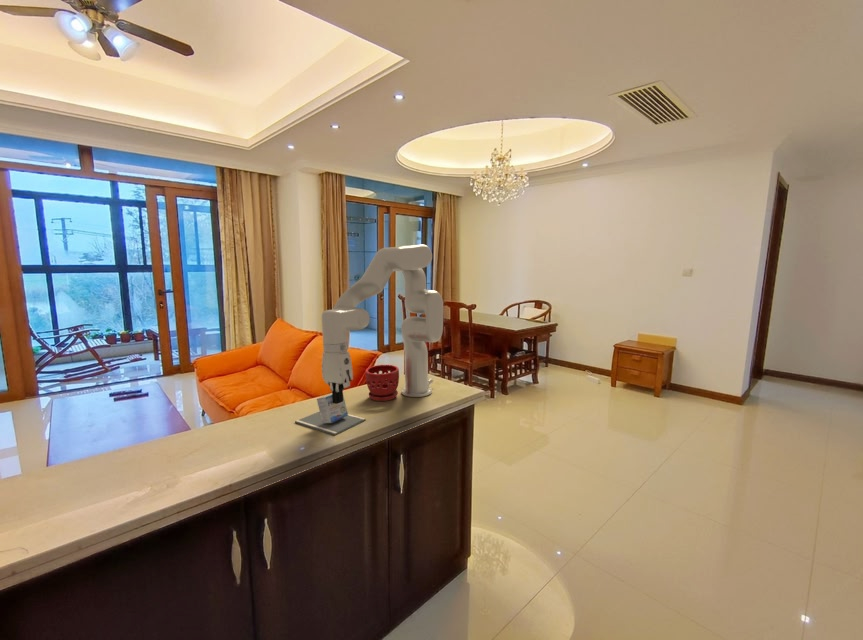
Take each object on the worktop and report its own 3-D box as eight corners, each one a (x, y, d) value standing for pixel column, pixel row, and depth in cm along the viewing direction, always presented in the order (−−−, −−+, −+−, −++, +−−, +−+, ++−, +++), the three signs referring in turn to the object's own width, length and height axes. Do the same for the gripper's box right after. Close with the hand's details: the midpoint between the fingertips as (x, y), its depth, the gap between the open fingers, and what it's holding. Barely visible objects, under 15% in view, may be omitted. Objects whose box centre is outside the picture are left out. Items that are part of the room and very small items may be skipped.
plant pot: (364, 394, 160) (363, 366, 158) (395, 391, 163) (395, 363, 162) (369, 405, 147) (367, 374, 146) (402, 401, 151) (402, 371, 149)
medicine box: (331, 423, 126) (325, 397, 126) (322, 424, 129) (316, 398, 129) (348, 415, 133) (342, 390, 133) (339, 416, 135) (334, 391, 135)
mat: (327, 409, 143) (327, 408, 143) (365, 420, 132) (365, 418, 132) (295, 422, 131) (295, 420, 131) (334, 435, 121) (334, 433, 121)
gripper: (360, 348, 125) (362, 402, 128) (328, 343, 133) (330, 395, 136) (343, 352, 119) (346, 410, 121) (310, 347, 127) (313, 401, 129)
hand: (338, 402), depth 128 cm, fingers closed
